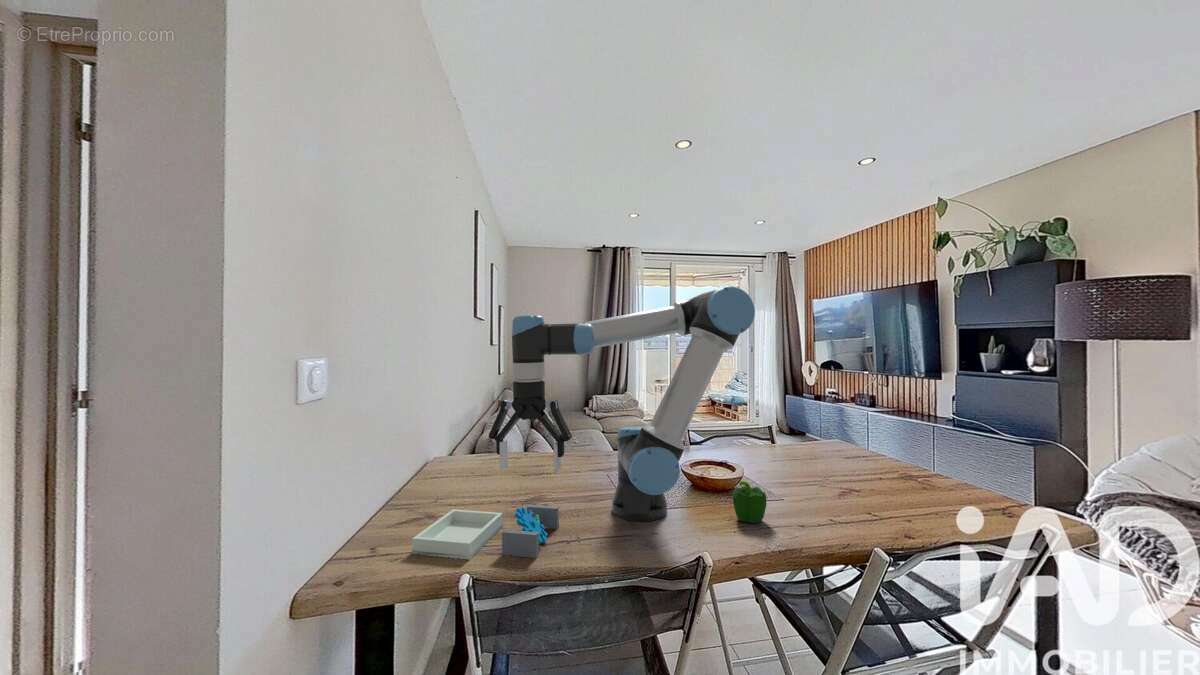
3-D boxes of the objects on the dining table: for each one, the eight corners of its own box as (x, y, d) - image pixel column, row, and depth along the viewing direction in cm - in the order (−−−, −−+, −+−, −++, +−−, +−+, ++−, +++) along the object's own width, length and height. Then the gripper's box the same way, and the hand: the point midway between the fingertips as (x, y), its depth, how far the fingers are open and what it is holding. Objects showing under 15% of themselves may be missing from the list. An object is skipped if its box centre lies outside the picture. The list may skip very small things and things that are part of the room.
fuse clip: (558, 526, 111) (558, 506, 111) (536, 558, 95) (536, 535, 95) (529, 524, 113) (528, 504, 113) (502, 554, 97) (501, 532, 97)
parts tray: (503, 526, 112) (502, 512, 112) (470, 559, 95) (469, 543, 95) (453, 522, 114) (452, 509, 114) (412, 554, 98) (412, 538, 98)
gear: (541, 545, 98) (512, 510, 100) (523, 563, 98) (494, 528, 100) (555, 531, 108) (528, 499, 111) (538, 547, 109) (512, 516, 111)
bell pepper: (769, 517, 116) (768, 479, 116) (764, 529, 108) (764, 488, 108) (736, 511, 120) (735, 474, 120) (730, 522, 112) (729, 483, 112)
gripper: (583, 378, 106) (584, 466, 106) (488, 378, 111) (489, 462, 111) (574, 381, 98) (576, 476, 98) (473, 381, 104) (474, 471, 104)
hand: (530, 469), depth 105 cm, fingers open, 13 cm apart
